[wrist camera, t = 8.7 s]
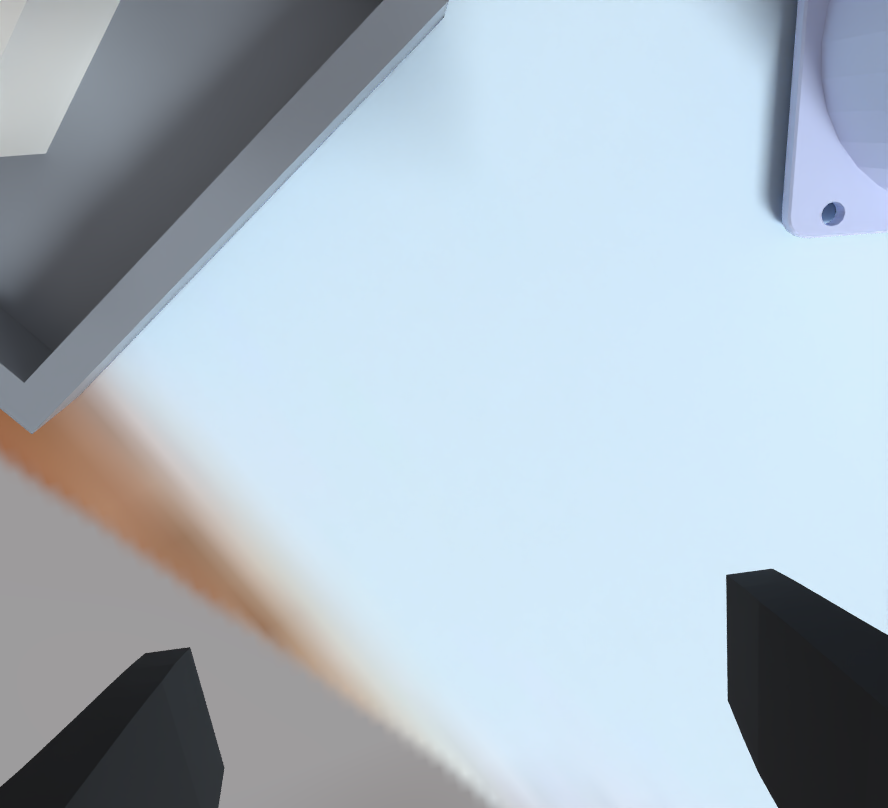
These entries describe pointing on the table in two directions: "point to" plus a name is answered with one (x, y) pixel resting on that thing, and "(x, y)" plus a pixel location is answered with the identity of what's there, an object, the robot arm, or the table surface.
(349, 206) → the table surface
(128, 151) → the tray
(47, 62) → the collar
